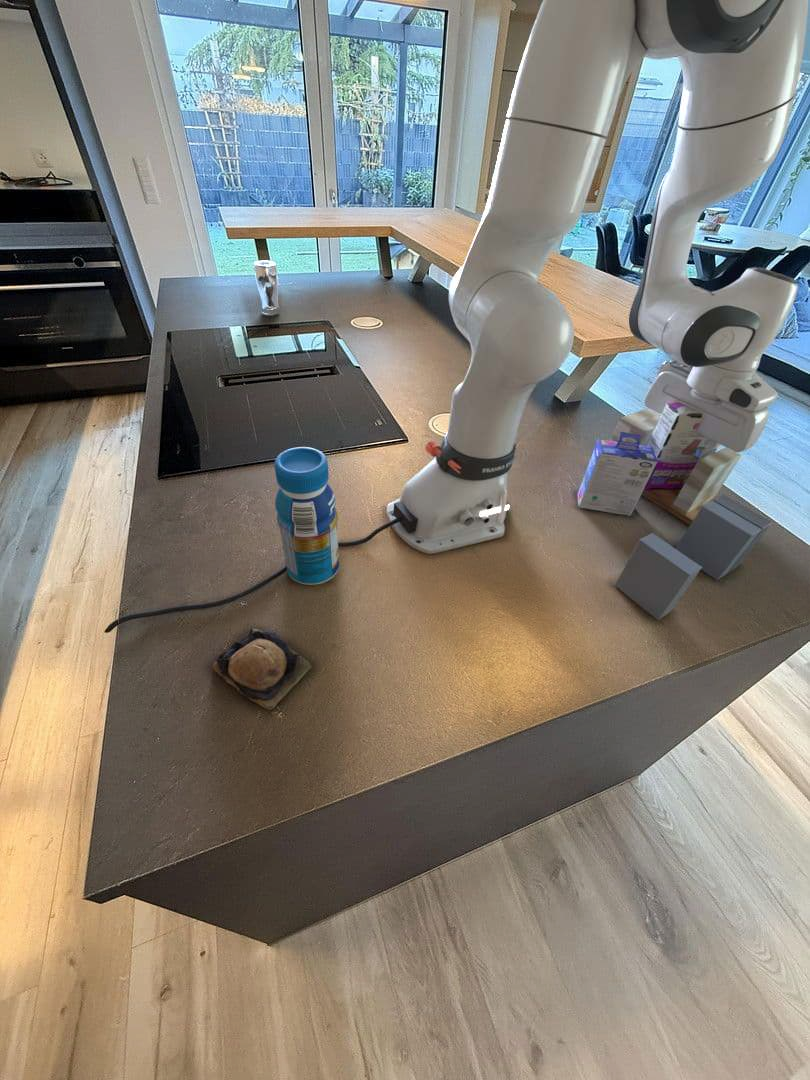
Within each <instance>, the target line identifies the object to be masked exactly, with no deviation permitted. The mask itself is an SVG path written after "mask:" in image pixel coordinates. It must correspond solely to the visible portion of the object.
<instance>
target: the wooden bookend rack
mask: <svg viewBox="0 0 810 1080" xmlns="http://www.w3.org/2000/svg"><path fill="white" fill-rule="evenodd" d="M660 416H661V414H659V413H657V412H655V411H653V410H651V409H649V408H647V407H646V408H644V409H641V410H639V411H635V412H633V413H629V414H627V415H624V416H621V417H619V418H618V422H617V423H616V426H615V429H614V431H613V434H612V436H611V438H610V441H613V442H617V441H618V438H619V435H620V432H625V433H631V434H638V435H641V440H640V445H643V446H647V444H648V442H649V440H650V438H651V436H652V433H653V431H654V429H655V427H656V425H657V422H658V420H659V418H660ZM622 441H624V442H630V443H636V440H635V439H633V438H631V437H627V438H622ZM741 457H742V454H741V453H739V452H735V451H733V450H731V449H729V448H727V447H723V448H722V449H720V450H716V451H715V453H713V454H711V455H708V456H706V457H704V458H702V459H700V460H698V462H697V463H696V465H695V467H694V469H693V470H692V472H691V474H690V476H689V477H688V479H687V481H686V482H685V484H684V486H683V488H682V489H657V490H643V492H642V494H641V496H643V497H644V498H646V499H648V500H649V501H651V502H653V503H654V504H656V505H657V506H659V507H660V508H663V509H664V510H665V511H667V512H668V513H670V514H671V515H673V516H674V517H676V518H678V519H679V520H681V521H682V522H684V523H686V525H689V526H690V525H691V523H692V522H693V520H694V518H695V517H696V515H697V514H698V512H699V511H700V509H701V507H702V506H704V505H706V504H707V503H709V502H711V501H713V500H715V499H717V498H718V497H716V496H717V495H718V493H719V491H720V490H721V488H722V487H723V485H724V483H725V482H726V481H727V478H728V477H729V476H730V474H731V473H732V472H733V470H734V468H735V467H736V465H737V463H738V462H739V460H740V459H741Z"/></svg>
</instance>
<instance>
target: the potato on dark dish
mask: <svg viewBox="0 0 810 1080" xmlns="http://www.w3.org/2000/svg"><path fill="white" fill-rule="evenodd" d="M212 666H213V667H212V669H213V670H214V672H215V673H218V675H219V677H222V679H223V680H225V682H226V683H227V684H229V685H230V686H233V687H234V688H235V689H236V690H237V692H238V693H239V694H242V695H243V696H244V697H245V698H248V699H249V700H250V701H251V702H254V703H256V704H257V705H259V706H261V707H262V708H264V709H266V710H268V711H270V710H271V711H272V710H273V709H275V707H276V706H277V705H278V704H279V703H280V702H281V701H282V699H283V698H285V696H286V695H288V693H289V692H290V691H291V690H292V689H293V688H294V686H296V685H297V683H299V682H300V680H302V678H304V676H305V675H306V674H307V673H308V672H309V671H310V670H311V669H312V666H311V663H310V662H308V661H307V660H306V659H305V658H304V657H302V656H301V654H300V653H297V652H296V651H294V650H293V649H292V648H291V647H290V646H289V644H288V643H287V641H286V640H283V639H282V638H281V637H280V636H279V635H278V634H277V633H276V632H275V631H273V630H266V631H262V630H259V629H257V628H251V629H250V631H249V632H248V633H246V634H245V635H244V636H243V637H242V638H240V639H239V640H234V642H233V643H232V645H230V647H228V648H227V649H226V650H224V651H222V653H220V655H218V656H217V657H216V658H215V662H213V665H212Z"/></svg>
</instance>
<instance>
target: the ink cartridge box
mask: <svg viewBox="0 0 810 1080" xmlns="http://www.w3.org/2000/svg"><path fill="white" fill-rule="evenodd" d="M627 437H631V438H633V439H635V440H636V443H630V442H624V441H622V438H627ZM640 440H641V435H638V434H631V433H625V432H620V435H619V438H618V441H617V442H613V441H611V440H606V439H605V440H604V439H597V440H596V442H595V446H594V448H593V451H592V455H591V457H590V460H589V462H588V466H587V468H586V471H585V474H584V476H583V479H582V482H581V484H580V487H579V490H578V491H577V503H578V505H577V506H578V508H579V509H585V510H592V511H599V512H604V513H609V514H617V515H622V516H627V517H628V516H629V517H630V516H632V514H633V513H634V509H635V508H636V506H637V503H638V502H639V499H640V497H641V496H642V492H643V490H644V487H645V485H646V483H647V481H648V480H649V478H650V476H651V474H652V472H653V470H654V468H655V466H656V464H657V461H658V460H657V458H656V455H655V452H654V450H653V448H652V447H651V446H643V445H640Z"/></svg>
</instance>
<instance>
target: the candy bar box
mask: <svg viewBox="0 0 810 1080" xmlns="http://www.w3.org/2000/svg"><path fill="white" fill-rule="evenodd" d="M660 415H661V416H660V418H659V420H658V422H657V425H656V427H655V429H654V431H653V433H652V436H651V438H650V440H649V442H648V444H647V446H651V447H652V448H653V450H654V452H655V455H656V458H657V460H658V461H657V464H656V466H655V468H654V470H653V472H652V474H651V476H650V478H649V480H648V481H647V483H646V485H645V487H644V490H657V489H682V488H683V486H684V484H685V482H686V481H687V479H688V477H689V476H690V474H691V472H692V470H693V469H694V467H695V465H696V463H697V462H698V460H699V459H697V458H695V457H694V454H696V451H697V449H699V448H701V447H705V448H708V447H709V446H711V445H709V444H708V443H709V441H710V439H709V438H707V437H705V436H703V435H701V434H699V433H697V429H698V427H699V426H700V424H701V422H702V420H703V418H704V416H705V415H704V414H703V413H701V412H699V411H697V410H695V409H693V408H691V407H688V406H686V405H684V404H681V403H666V405H665V407H664V409H663V411H662V414H660ZM718 448H719V446H718V447H717V448H715V449H713V450H711V451H710V452H709V453H708V455H711V454H713V453H715V452H717V449H718ZM708 455H707V456H708Z"/></svg>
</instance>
